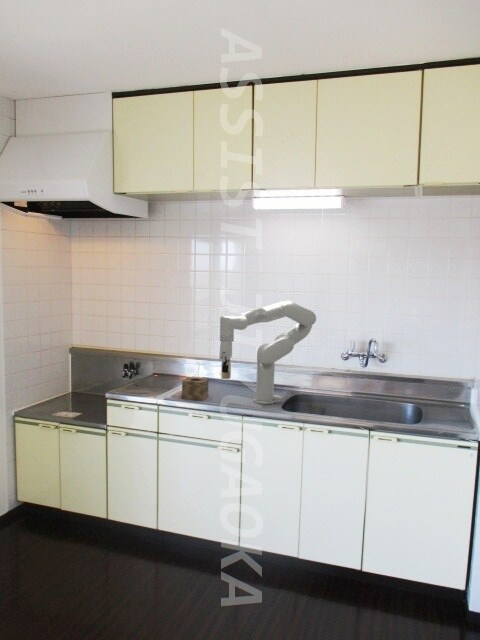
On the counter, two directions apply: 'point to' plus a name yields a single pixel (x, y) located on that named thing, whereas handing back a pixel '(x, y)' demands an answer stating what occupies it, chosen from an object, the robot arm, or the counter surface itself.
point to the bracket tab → (226, 375)
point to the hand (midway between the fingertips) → (226, 371)
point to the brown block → (195, 388)
